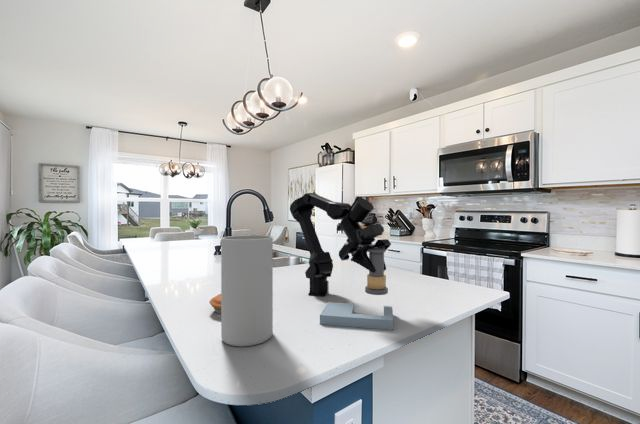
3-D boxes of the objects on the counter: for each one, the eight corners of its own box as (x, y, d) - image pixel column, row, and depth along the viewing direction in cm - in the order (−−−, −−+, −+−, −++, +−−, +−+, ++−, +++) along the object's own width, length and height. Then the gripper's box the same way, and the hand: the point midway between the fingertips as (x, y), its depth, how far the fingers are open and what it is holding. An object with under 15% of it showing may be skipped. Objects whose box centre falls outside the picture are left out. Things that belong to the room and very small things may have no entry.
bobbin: (361, 293, 90) (361, 249, 90) (369, 287, 96) (369, 247, 96) (383, 296, 86) (384, 251, 86) (390, 290, 92) (390, 248, 92)
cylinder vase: (224, 352, 67) (224, 240, 67) (219, 331, 78) (219, 236, 78) (278, 342, 72) (278, 238, 72) (266, 324, 83) (266, 234, 83)
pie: (198, 315, 91) (198, 298, 91) (230, 300, 106) (230, 286, 106) (240, 322, 85) (240, 304, 85) (268, 306, 100) (268, 291, 100)
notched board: (319, 323, 84) (319, 315, 84) (327, 310, 95) (327, 302, 95) (393, 329, 79) (393, 320, 79) (392, 314, 91) (392, 306, 91)
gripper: (344, 215, 88) (372, 257, 80) (386, 214, 100) (414, 251, 91) (328, 239, 95) (352, 281, 86) (369, 236, 106) (394, 273, 97)
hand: (379, 270), depth 90 cm, fingers closed on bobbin, 4 cm apart
